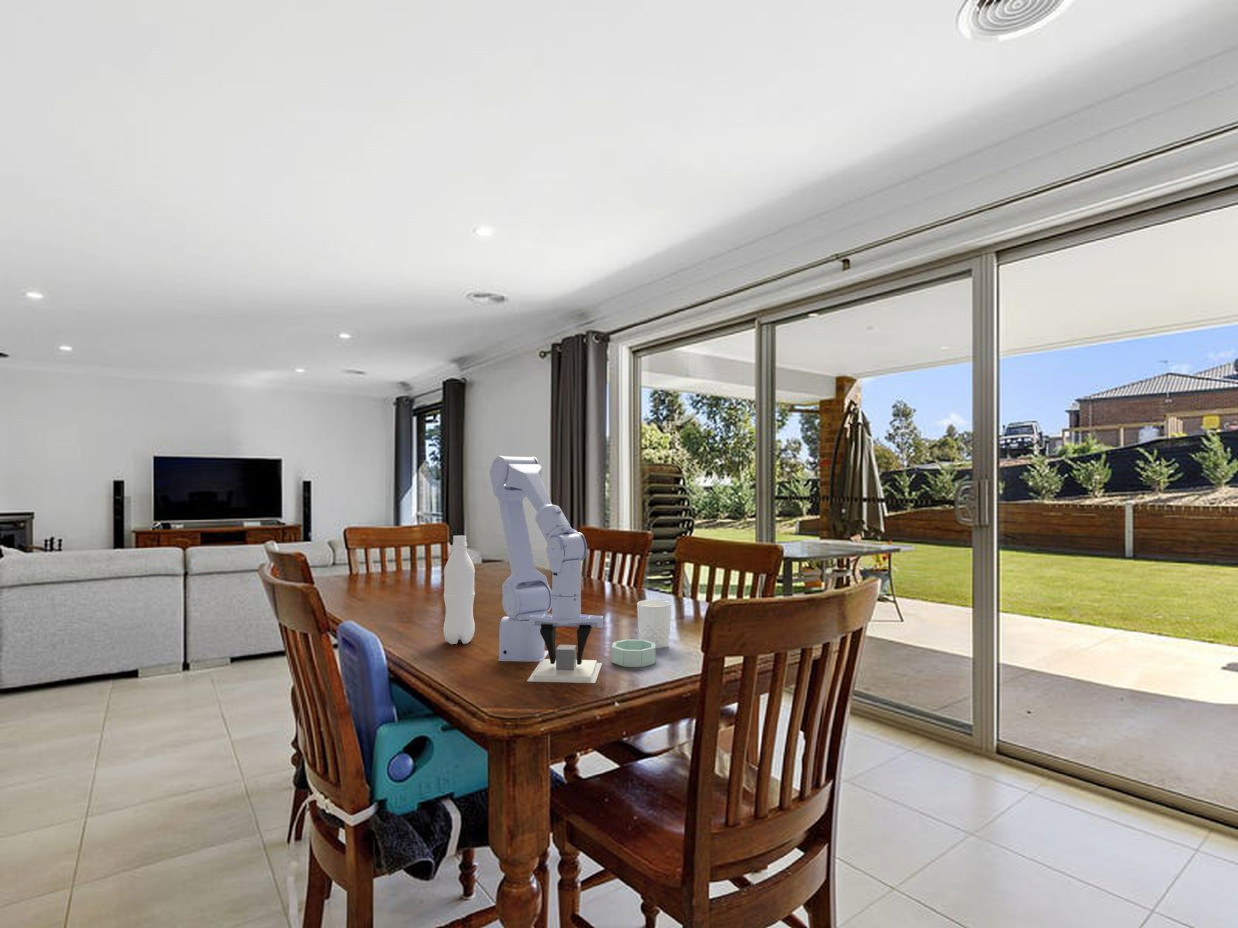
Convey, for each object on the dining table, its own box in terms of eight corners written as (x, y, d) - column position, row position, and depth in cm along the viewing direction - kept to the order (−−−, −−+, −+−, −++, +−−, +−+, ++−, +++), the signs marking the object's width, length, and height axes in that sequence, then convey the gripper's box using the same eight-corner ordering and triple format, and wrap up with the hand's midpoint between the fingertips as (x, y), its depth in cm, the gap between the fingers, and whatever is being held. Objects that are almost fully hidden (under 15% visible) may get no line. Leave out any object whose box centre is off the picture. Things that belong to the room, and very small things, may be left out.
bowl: (610, 669, 132) (610, 650, 132) (614, 657, 141) (614, 639, 141) (654, 670, 132) (654, 651, 132) (655, 658, 141) (655, 639, 141)
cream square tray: (526, 683, 123) (526, 680, 123) (540, 663, 136) (540, 661, 136) (595, 685, 122) (595, 682, 122) (602, 665, 135) (602, 662, 135)
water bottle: (470, 646, 150) (471, 537, 150) (439, 646, 150) (440, 537, 150) (477, 638, 157) (478, 534, 157) (448, 638, 157) (448, 534, 158)
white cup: (669, 651, 145) (669, 606, 146) (634, 649, 147) (634, 605, 147) (673, 642, 153) (673, 600, 153) (640, 641, 155) (640, 599, 155)
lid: (533, 679, 124) (533, 654, 124) (544, 662, 135) (544, 639, 135) (590, 680, 123) (590, 655, 123) (596, 664, 134) (596, 640, 134)
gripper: (526, 597, 126) (525, 667, 126) (600, 598, 125) (600, 669, 124) (533, 590, 133) (533, 657, 133) (604, 591, 132) (604, 659, 131)
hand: (566, 662), depth 129 cm, fingers open, 5 cm apart
